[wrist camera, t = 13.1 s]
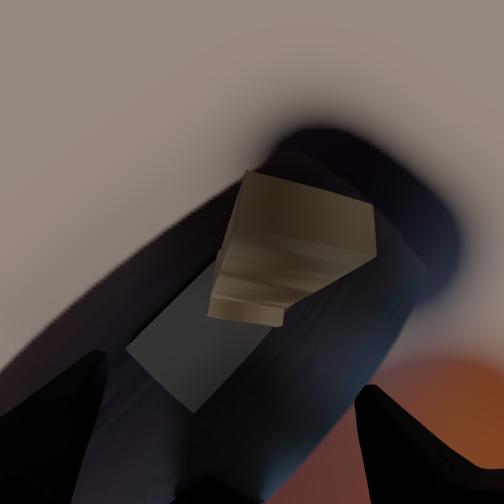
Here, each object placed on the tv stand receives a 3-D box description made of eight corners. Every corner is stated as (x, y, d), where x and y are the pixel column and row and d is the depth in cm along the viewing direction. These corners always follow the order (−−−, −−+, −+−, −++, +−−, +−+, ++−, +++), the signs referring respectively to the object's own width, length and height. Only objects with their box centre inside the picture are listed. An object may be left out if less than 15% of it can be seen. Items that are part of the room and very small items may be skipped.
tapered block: (283, 268, 24) (369, 181, 12) (277, 327, 22) (377, 287, 10) (217, 255, 23) (250, 146, 11) (207, 316, 21) (230, 261, 9)
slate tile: (302, 288, 25) (308, 285, 24) (193, 410, 19) (193, 413, 18) (244, 235, 25) (247, 229, 24) (128, 348, 20) (125, 348, 19)
